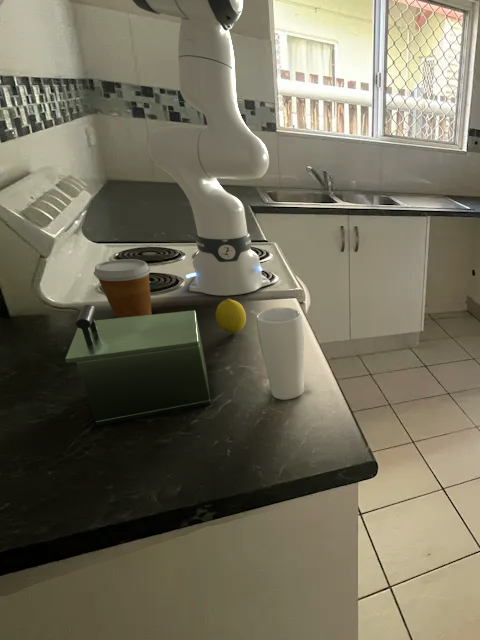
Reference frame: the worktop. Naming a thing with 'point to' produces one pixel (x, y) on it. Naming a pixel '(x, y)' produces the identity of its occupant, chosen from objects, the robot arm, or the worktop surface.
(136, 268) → the disposable coffee cup
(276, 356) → the drinking glass
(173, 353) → the green tapered box
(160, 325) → the lid
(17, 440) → the worktop surface
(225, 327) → the lemon
